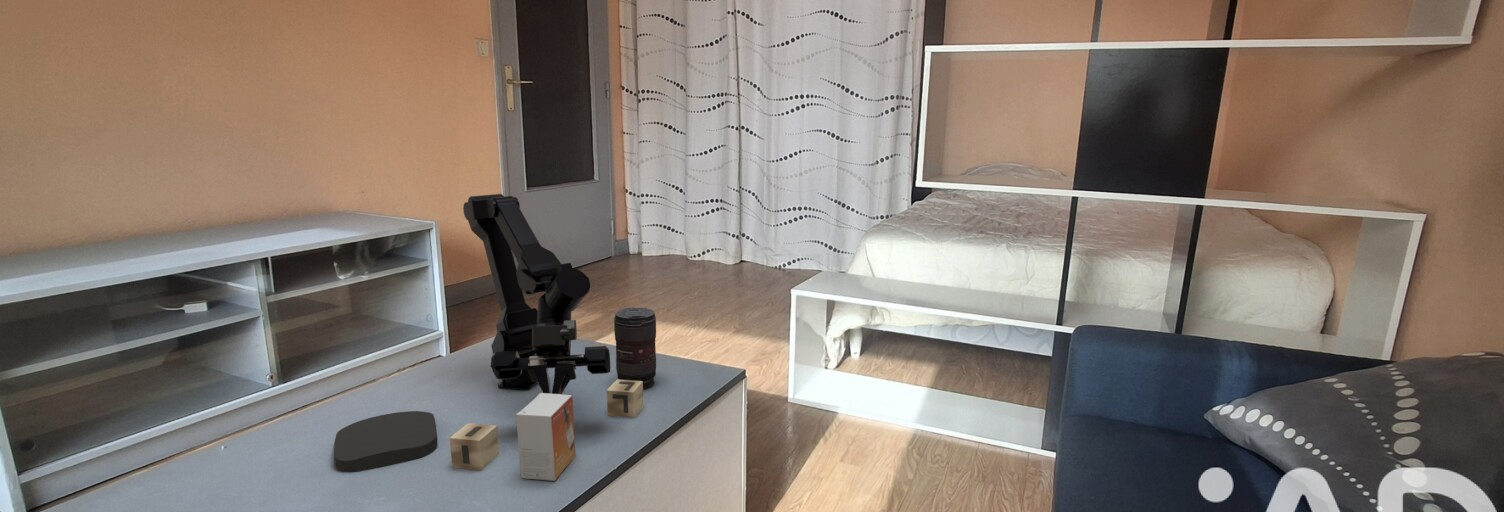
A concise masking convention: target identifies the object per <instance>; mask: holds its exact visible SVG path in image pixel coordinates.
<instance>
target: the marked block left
mask: <svg viewBox="0 0 1504 512" xmlns="http://www.w3.org/2000/svg"><path fill="white" fill-rule="evenodd" d="M498 433H499V432H498V425H494V424H493V425H491V424H483V423H482V424H481V423H470V422H468V423H466V424H465V425H464V426H462V428H460V429H458V430H457V431H456V432H455V433H454V434H452V435H451V436H450V437H449V438H448V439H449V447H450V457H451V466H452V468H456V469H467V470H477V471H483V470H484V469H486V467H487V466H488V465H489V464H491V462H493V461H494V460H495V459H496V458H497V457H498V456H499V455H500V446H499V445H500V444H499V443H500V442H499V434H498Z"/></svg>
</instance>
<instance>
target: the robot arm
mask: <svg viewBox="0 0 1504 512" xmlns="http://www.w3.org/2000/svg"><path fill="white" fill-rule="evenodd" d="M462 210H463V215H464V218H465V219H466V221H468V226H469V227H470V230H471V232H473V233H474V234H475V235H476V236H477V237H478V238H479V239H480V240H481V241H482V243H483V246H484V250H485V254H486V258H487V262H488V265H489V270H490V273H491V277H492V280H493V285H494V288H495V289H494V290H495V292H496V295H497V296H496V297H497V300H498V304H499V307H500V313H499V316H498V319H497V322H496V326H495V327H496V335H495V337H494V338H493V339H494V340H493V341H492V343H491V346H490V347H491V353H492V356H491V357H490V358H491V359H490V368H491V370H492V372H493V374H494V376H495V378H496V380H501V382H500V383H499V384H497V388H498V389H505V390H518V391H519V390H521V391H528V390H530V389H531V388H533V387H534V386H535V385H536V384H537V383H538V384H539V387H540V389H541V393H549V394H563V393H564V391H565V389H566V387H567V386H568V385H569V383H570V381H572V380H573V381H574V380H576V378H577V374H576V370H577V367H587V368H586V369H587V372H589V373H590V374H591V375H601V374H608V373H611V355H610V354H611V353H610V349H609V348H608V347H607V346H606V345H601V346H600V345H599V346H598V345H597V346H585V347H584V354H571V353H572V352H571V346H572V344H571V343H572V341H576V340H577V337H578V336H577V335H578V333H577V320H576V319H572V312H574V311H575V310H576V309H577V308H578V306H579V305H580V304H581V303H582V301H583V300H584V299H585V297H586V296H587V294H588V293H589V291H590V289H591V282H590V281H591V280H590V279H589V277H588V276H587V275H586V274H585V272H583V271H581V270H579V269H578V268H574V267H573V266H572V263H571V262H565V263H561V261H560V260H559V259H558V257H557V256H556V254H555V253H554V252H553V251H551V250H549V249H547V248H546V247H543V246H542V245H541V243H540V242H539V240H538V238H537V236H536V235H535V233H534V232H533V229H532V227H531V225H530V224H529V222H528V220H527V218H526V217H525V215H524V214H523V212H522V209H521V205H520V201H519V199H518V197H516V196H513V195H505V196H504V195H503V194H502V193H493V194H483V195H473V196H472V195H471V196H469V197H468V199H467V201H466V202H464V204H463V209H462ZM514 257H515V258H514ZM515 259H516V261H517V266H516V262H515ZM524 293H525V295H528V296H529V295H530V296H531V295H537V294H541V293H543V294H542V295H541V296H540V297H539V298H538V299H537V308H536V307H531V306H530V305H529V304H528V303H527V302H526V299H525V295H524ZM549 369H554V374H553V375H554V376H553V377H554V378H553V383H552V390H551V379H550V375H549V372H548V371H549Z"/></svg>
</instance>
